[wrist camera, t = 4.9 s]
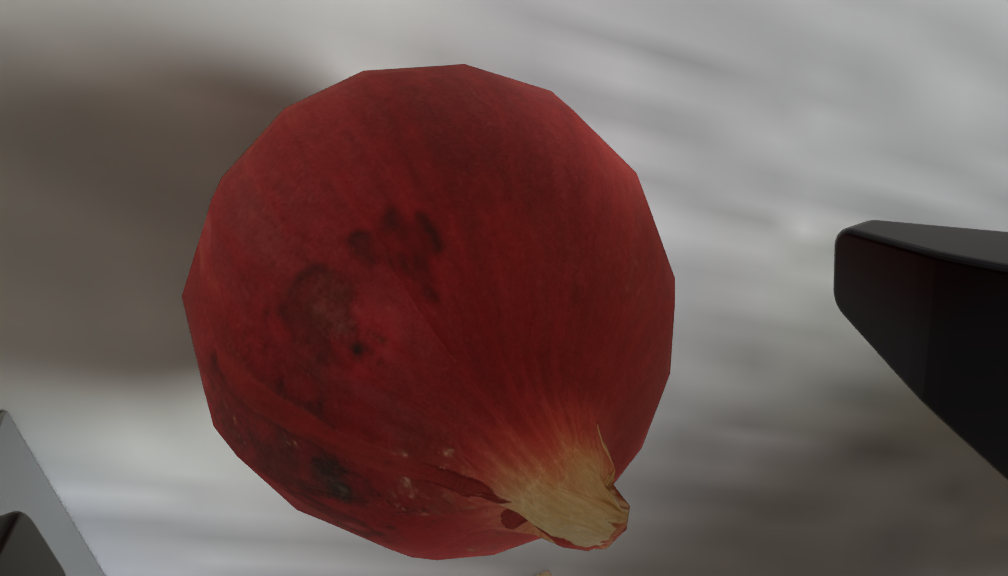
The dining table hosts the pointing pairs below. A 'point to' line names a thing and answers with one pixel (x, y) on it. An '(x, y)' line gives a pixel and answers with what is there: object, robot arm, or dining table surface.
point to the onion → (435, 313)
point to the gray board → (40, 502)
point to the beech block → (545, 574)
